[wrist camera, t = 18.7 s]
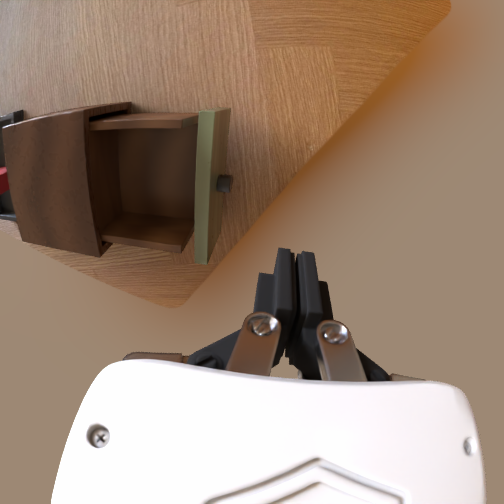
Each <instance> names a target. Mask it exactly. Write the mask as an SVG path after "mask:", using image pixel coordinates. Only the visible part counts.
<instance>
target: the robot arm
mask: <svg viewBox="0 0 504 504" xmlns="http://www.w3.org/2000/svg"><path fill="white" fill-rule="evenodd" d="M294 257H295V256H294V253H291V252H290V249H285V248H279V249H278V254H277V259H276V264H275V269H274V274H266V273H259V277H258V283H257V290H256V297H255V304H254V311H253V313H251V314H250V315H248V316H247V317H246V318H245V320H244V322H243V325H242V328H241V329H240V330H238V331H236V332H234V333H232V334H230V335H228V336H226V337H224V338H222V339H221V340H219V341H217V342H215V343H213V344H211V345H209V346H207V347H205V348H202V349H201V350H199V351H196V352H195V353H193V354H192V355H191V356H182V354H181V353H150V352H149V353H148V352H133V353H130V354H128V355H126V356H125V357H124V358H123V360H122V361H120V362H116V363H113V364H111V365H109V366H107V367H106V368H104V369H103V370H102V371H101V372H100V373H99V375H98V376H97V377H96V379H95V380H94V382H93V383H92V385H91V387H90V388H89V390H88V392H87V394H86V396H85V398H84V400H83V402H82V404H81V406H80V409H79V411H78V413H77V416H76V418H75V421H74V423H73V426H72V429H71V431H70V434H69V437H68V440H67V443H66V446H65V449H64V453H63V456H62V459H61V463H60V466H59V470H58V474H57V478H56V482H55V487H54V491H53V496H52V502H51V504H487V493H486V476H485V466H484V459H483V453H482V447H481V441H480V436H479V432H478V428H477V425H476V420H475V417H474V414H473V411H472V408H471V406H470V403H469V401H468V399H467V397H466V395H465V394H464V392H463V391H461V390H460V389H459V388H456V387H455V386H453V385H450V384H447V383H443V382H438V381H427V380H424V379H418V378H413V377H408V376H403V375H397V374H391V375H388V374H387V373H386V372H385V371H384V370H383V369H382V368H381V367H380V366H378V365H377V364H375V363H374V362H373V361H372V360H371V359H369V358H368V357H367V356H366V355H364V354H363V353H362V352H360V351H359V350H358V349H357V348H356V347H355V344H354V342H353V339H352V336H351V334H350V331H349V329H348V328H347V327H346V326H345V325H344V324H343V323H341V322H339V321H336V320H333V313H332V307H331V302H330V296H329V291H328V285H327V282H324V281H318V275H317V268H316V262H315V256H314V253H312V252H305V251H302V253H301V254H297V257H296V261H295V258H294ZM284 349H285V357H288V358H289V364H290V365H294V366H295V367H296V368H297V369H298V379H290V378H279V377H270V372H271V368H273V367H274V366H276V365H277V364H279V361H280V358H281V357H282V356H283V353H284Z"/></svg>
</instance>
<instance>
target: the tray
mask: <svg viewBox="0 0 504 504" xmlns="http://www.w3.org/2000/svg"><path fill="white" fill-rule="evenodd" d="M20 121H23V110H21V111H17V112H13V113H10V114H8V115H5V116H2V117H0V167H4V166H6V162H5V154H4V144H3V131H2V128H3V127H5V126H8V125H11V124H14V123H17V122H20ZM0 219H4V220H10V221H17V219H16V215H15V211H14V207H13V202H12V198H11V193H10V189H9V190H8V191H6V192H4V193H3V194H1V195H0Z"/></svg>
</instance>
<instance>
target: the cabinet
mask: <svg viewBox="0 0 504 504" xmlns="http://www.w3.org/2000/svg"><path fill="white" fill-rule="evenodd" d="M118 114H131V102H121V103H110V104H102V105H94V106H86V107H80V108H74V109H68V110H62V111H57V112H52V113H48V114H44V115H40V116H37V117H33V118H30V119H27V120H23V121H20V122H17V123H14V124H11V125H8V126H5V127H3V128H2V131H3V144H4V154H5V162H6V170H7V176H8V182H9V188H10V193H11V198H12V202H13V207H14V211H15V215H16V219H17V223H18V227H19V231H20V234H21V237H22V241H24V242H28V243H33V244H37V245H42V246H46V247H51V248H56V249H60V250H65V251H70V252H75V253H80V254H85V255H90V256H95V257H101V256H102V255H103V254H104V253H105V252H106V251H107V250H108V248H109V247H110V246H111V245H112V244H113V243H112V242H106V241H101V237H100V232H99V226H98V220H97V213H96V207H95V199H94V191H93V182H92V172H91V160H90V143H89V121H92V120H96V119H100V118H104V117H108V116H112V115H118Z"/></svg>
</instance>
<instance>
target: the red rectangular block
mask: <svg viewBox="0 0 504 504" xmlns="http://www.w3.org/2000/svg"><path fill="white" fill-rule="evenodd" d="M9 189H10V188H9V182H8V176H7V170H6V166H4V167H0V195H1V194H3V193H4V192H6V191H8V190H9Z"/></svg>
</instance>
